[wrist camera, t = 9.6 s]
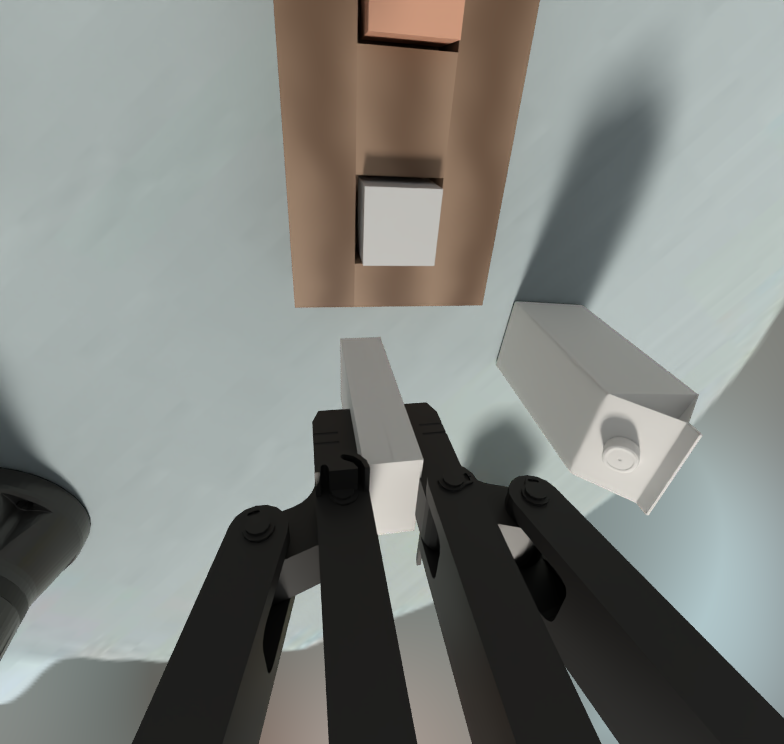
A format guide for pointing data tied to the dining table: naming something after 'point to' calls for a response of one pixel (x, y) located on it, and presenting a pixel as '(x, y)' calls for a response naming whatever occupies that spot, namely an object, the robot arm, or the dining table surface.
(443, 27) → the terracotta key
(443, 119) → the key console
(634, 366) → the milk carton
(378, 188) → the stone grey key
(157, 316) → the dining table surface
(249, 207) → the dining table surface
